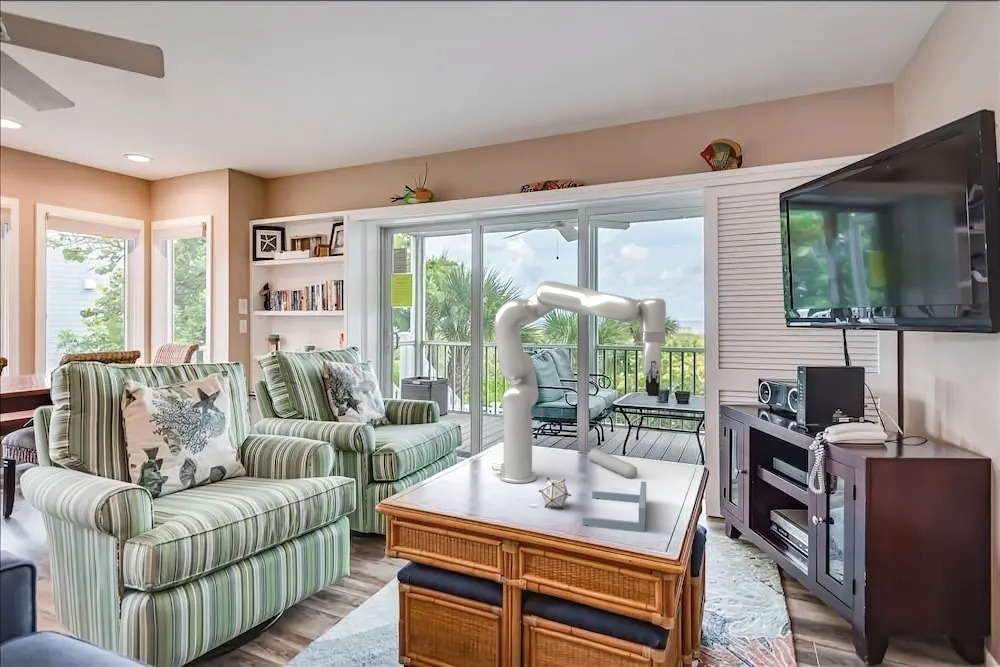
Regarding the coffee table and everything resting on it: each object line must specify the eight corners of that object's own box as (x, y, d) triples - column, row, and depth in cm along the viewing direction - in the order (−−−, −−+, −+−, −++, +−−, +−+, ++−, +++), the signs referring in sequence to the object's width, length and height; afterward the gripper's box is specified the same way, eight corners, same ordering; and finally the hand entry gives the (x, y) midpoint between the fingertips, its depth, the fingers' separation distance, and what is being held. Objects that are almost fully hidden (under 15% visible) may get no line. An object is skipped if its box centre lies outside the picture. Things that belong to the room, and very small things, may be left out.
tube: (642, 467, 178) (602, 450, 201) (629, 463, 176) (590, 446, 200) (638, 482, 178) (598, 463, 201) (625, 479, 176) (586, 460, 199)
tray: (582, 525, 137) (582, 502, 136) (592, 497, 159) (592, 477, 158) (644, 532, 132) (644, 508, 132) (646, 502, 154) (646, 481, 154)
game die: (560, 518, 151) (580, 489, 152) (553, 517, 144) (575, 487, 145) (536, 498, 155) (556, 470, 156) (528, 496, 148) (549, 467, 149)
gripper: (638, 337, 173) (638, 390, 173) (641, 339, 156) (641, 397, 156) (662, 338, 171) (661, 390, 172) (668, 339, 155) (667, 398, 155)
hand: (651, 393), depth 164 cm, fingers open, 9 cm apart
